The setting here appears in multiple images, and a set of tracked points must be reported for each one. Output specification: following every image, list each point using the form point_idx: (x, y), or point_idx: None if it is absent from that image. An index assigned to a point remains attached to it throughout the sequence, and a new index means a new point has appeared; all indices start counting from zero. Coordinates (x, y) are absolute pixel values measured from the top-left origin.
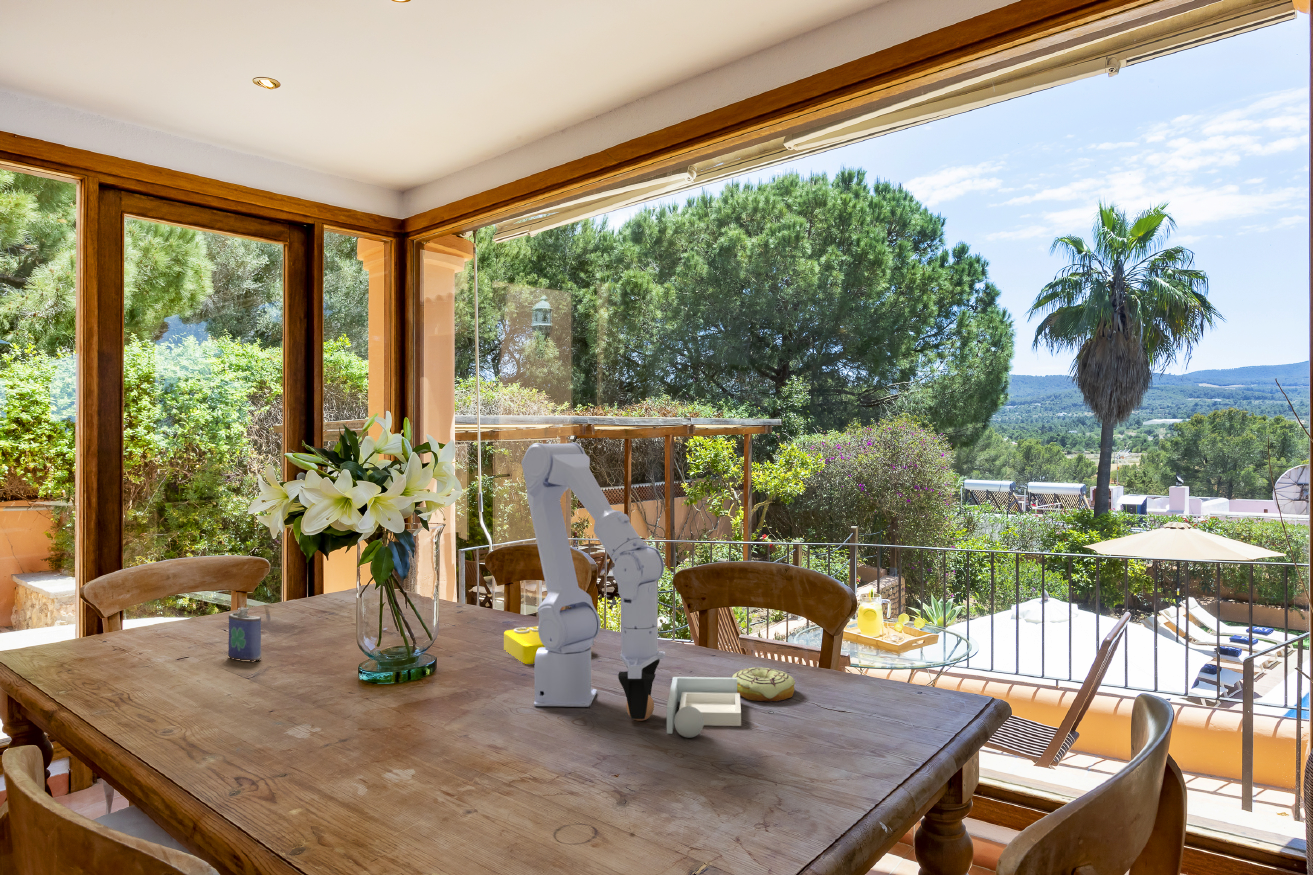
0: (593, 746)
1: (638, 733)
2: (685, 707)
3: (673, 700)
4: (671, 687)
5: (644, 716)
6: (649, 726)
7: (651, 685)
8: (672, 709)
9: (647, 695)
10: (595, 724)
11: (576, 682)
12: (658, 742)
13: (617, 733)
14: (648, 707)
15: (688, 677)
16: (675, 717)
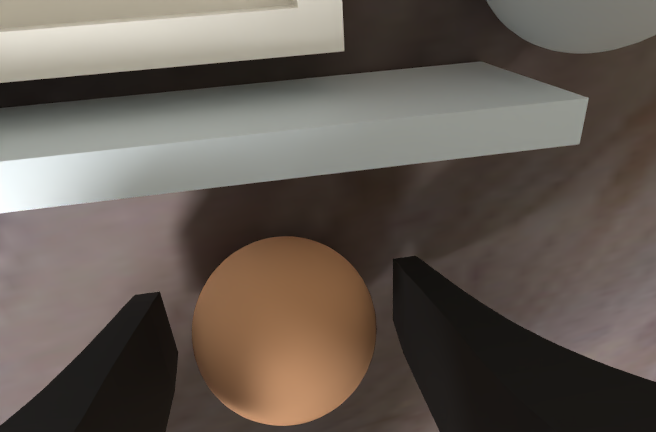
0: (593, 358)
1: (468, 239)
2: None
3: (364, 117)
4: (11, 203)
5: (422, 262)
6: (370, 210)
7: (110, 372)
8: (489, 94)
9: (537, 335)
10: (364, 419)
11: None
12: (596, 117)
13: None
14: (350, 275)
15: None
16: (637, 42)
